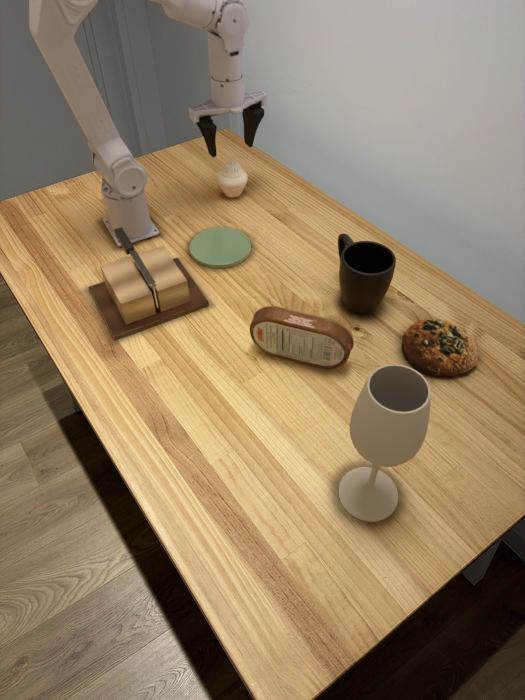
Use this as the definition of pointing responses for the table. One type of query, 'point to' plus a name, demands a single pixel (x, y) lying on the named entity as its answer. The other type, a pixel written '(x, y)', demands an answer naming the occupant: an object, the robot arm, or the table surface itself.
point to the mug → (364, 273)
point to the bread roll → (439, 348)
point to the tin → (301, 337)
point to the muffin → (232, 179)
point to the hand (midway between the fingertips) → (230, 149)
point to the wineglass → (384, 438)
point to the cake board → (150, 321)
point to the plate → (220, 247)
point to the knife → (137, 261)
